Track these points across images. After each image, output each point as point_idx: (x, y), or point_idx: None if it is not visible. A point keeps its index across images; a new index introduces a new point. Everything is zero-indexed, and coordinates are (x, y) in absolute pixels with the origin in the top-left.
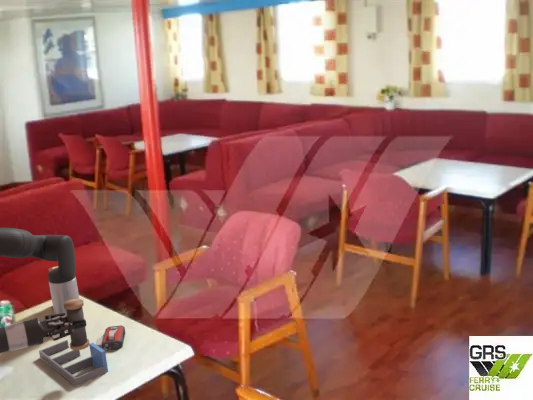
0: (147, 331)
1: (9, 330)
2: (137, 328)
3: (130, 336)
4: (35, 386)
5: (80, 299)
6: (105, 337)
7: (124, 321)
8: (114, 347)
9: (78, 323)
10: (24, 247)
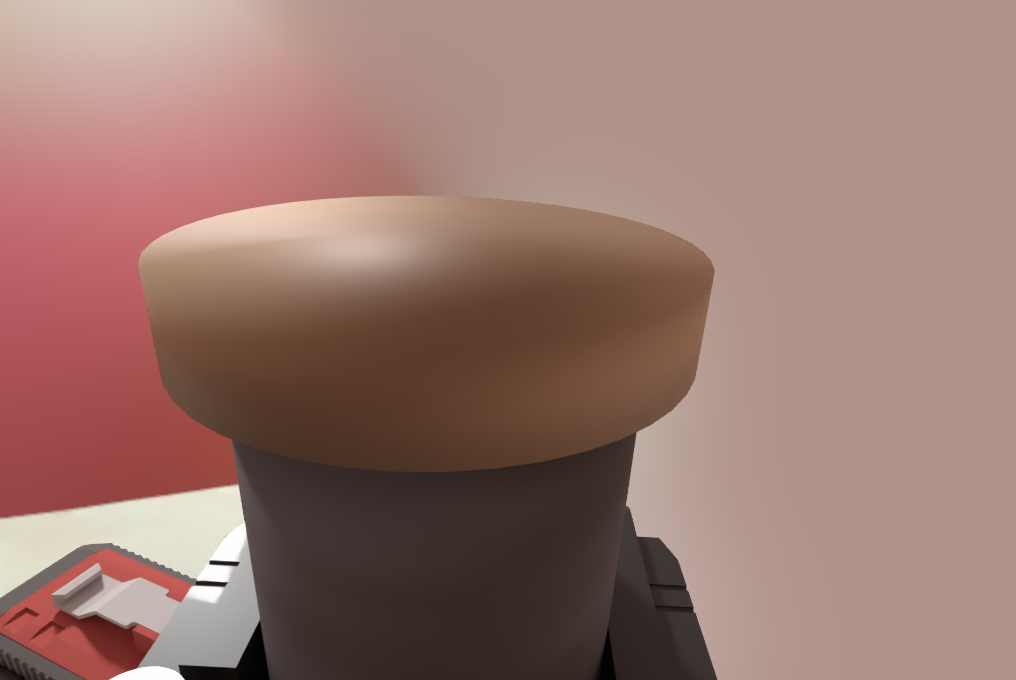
0: (237, 499)
1: None
2: (152, 519)
3: (193, 568)
4: None
5: (380, 199)
6: (101, 673)
7: None
8: None
9: (689, 618)
10: None
